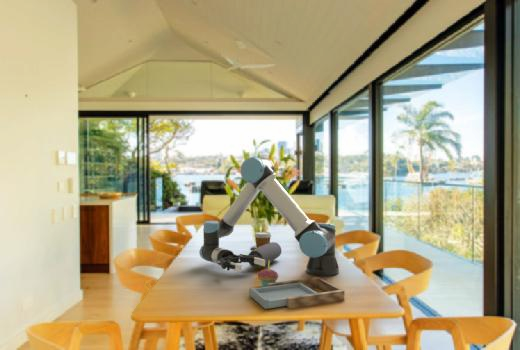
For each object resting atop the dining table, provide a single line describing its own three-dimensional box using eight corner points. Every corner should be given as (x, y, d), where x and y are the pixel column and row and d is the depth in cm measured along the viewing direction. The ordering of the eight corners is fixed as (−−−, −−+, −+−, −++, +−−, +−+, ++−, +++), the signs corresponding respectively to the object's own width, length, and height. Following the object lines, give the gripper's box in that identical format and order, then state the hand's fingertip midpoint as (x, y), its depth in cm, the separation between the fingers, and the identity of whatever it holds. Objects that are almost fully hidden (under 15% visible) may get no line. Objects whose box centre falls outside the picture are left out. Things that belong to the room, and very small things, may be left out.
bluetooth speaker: (266, 258, 208) (266, 240, 207) (282, 260, 204) (282, 241, 203) (246, 269, 187) (246, 248, 187) (263, 271, 183) (263, 250, 183)
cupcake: (280, 288, 157) (281, 259, 157) (260, 290, 155) (260, 260, 154) (274, 282, 165) (274, 254, 165) (254, 284, 163) (255, 256, 163)
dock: (318, 285, 162) (318, 277, 162) (345, 300, 144) (345, 290, 144) (267, 292, 153) (267, 283, 153) (289, 308, 135) (289, 298, 135)
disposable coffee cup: (260, 251, 225) (260, 230, 225) (274, 253, 220) (274, 232, 220) (251, 254, 218) (251, 233, 217) (265, 256, 212) (265, 235, 212)
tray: (300, 288, 156) (300, 281, 156) (319, 300, 142) (319, 292, 142) (249, 295, 148) (249, 287, 148) (265, 308, 134) (265, 300, 134)
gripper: (243, 260, 191) (273, 269, 175) (200, 269, 174) (230, 280, 158) (243, 245, 191) (273, 252, 175) (200, 253, 174) (230, 261, 158)
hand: (253, 265), depth 166 cm, fingers open, 13 cm apart
